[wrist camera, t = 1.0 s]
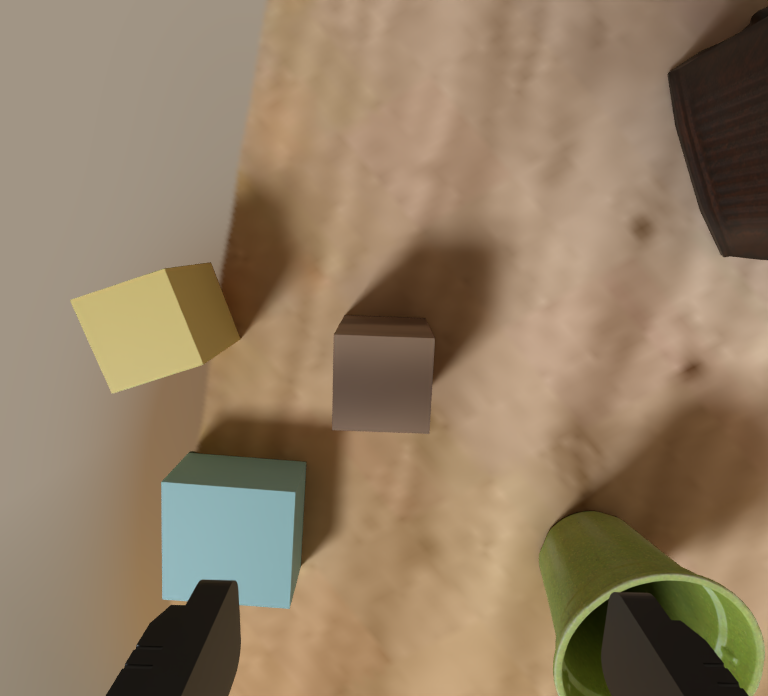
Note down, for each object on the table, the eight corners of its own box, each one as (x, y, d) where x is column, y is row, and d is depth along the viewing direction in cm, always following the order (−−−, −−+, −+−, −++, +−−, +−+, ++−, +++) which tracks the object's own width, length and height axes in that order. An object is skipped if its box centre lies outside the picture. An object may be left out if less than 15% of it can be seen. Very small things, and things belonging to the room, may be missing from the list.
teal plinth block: (190, 451, 31) (161, 481, 27) (307, 460, 31) (295, 492, 27) (189, 555, 32) (162, 599, 28) (301, 563, 32) (289, 608, 28)
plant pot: (483, 527, 31) (520, 634, 23) (625, 456, 30) (719, 541, 22) (550, 641, 33) (607, 782, 24) (687, 578, 32) (796, 702, 23)
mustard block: (135, 287, 28) (70, 300, 22) (210, 262, 28) (164, 268, 22) (167, 362, 29) (112, 393, 23) (240, 338, 29) (203, 364, 23)
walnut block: (344, 314, 29) (333, 334, 23) (425, 318, 29) (435, 338, 23) (343, 392, 29) (332, 430, 24) (420, 395, 29) (429, 433, 24)
